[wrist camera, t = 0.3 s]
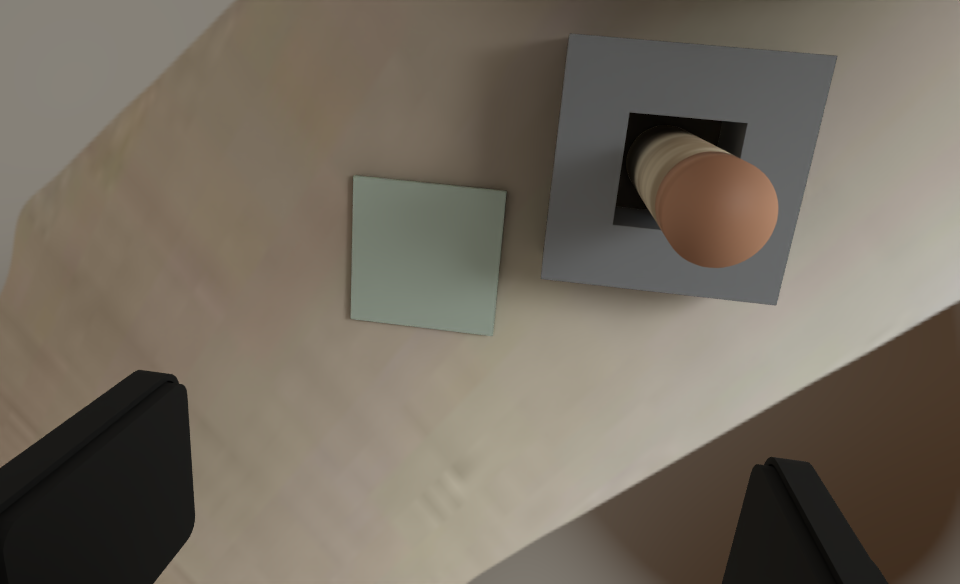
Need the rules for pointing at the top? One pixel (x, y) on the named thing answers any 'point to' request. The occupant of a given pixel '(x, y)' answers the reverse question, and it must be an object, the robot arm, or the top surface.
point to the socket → (682, 93)
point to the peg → (702, 196)
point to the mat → (426, 254)
